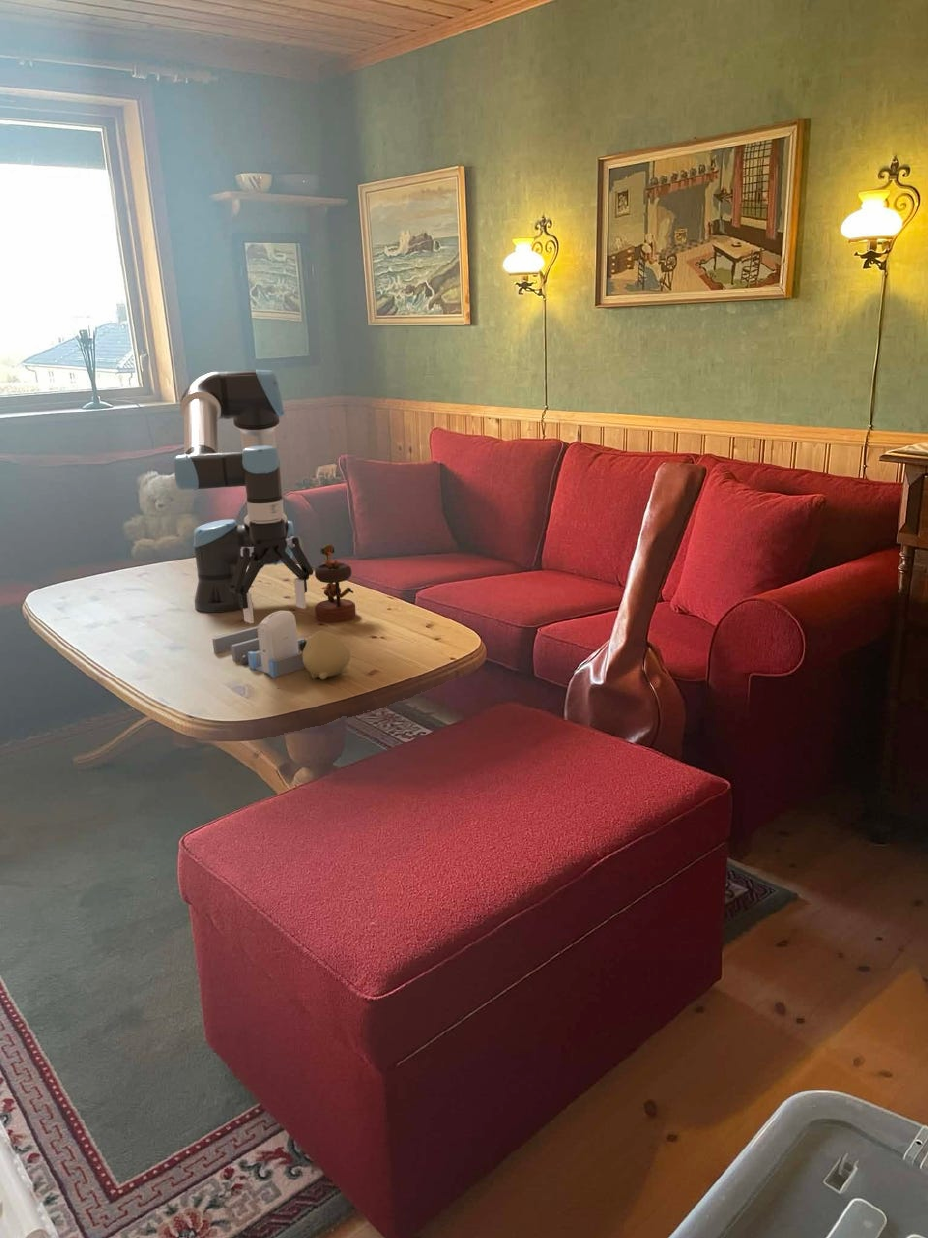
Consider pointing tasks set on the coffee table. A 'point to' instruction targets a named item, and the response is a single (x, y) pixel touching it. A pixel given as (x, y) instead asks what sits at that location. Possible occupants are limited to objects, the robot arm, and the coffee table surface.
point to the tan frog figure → (324, 655)
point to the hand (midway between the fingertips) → (275, 614)
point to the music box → (334, 590)
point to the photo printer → (277, 637)
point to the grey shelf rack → (256, 652)
